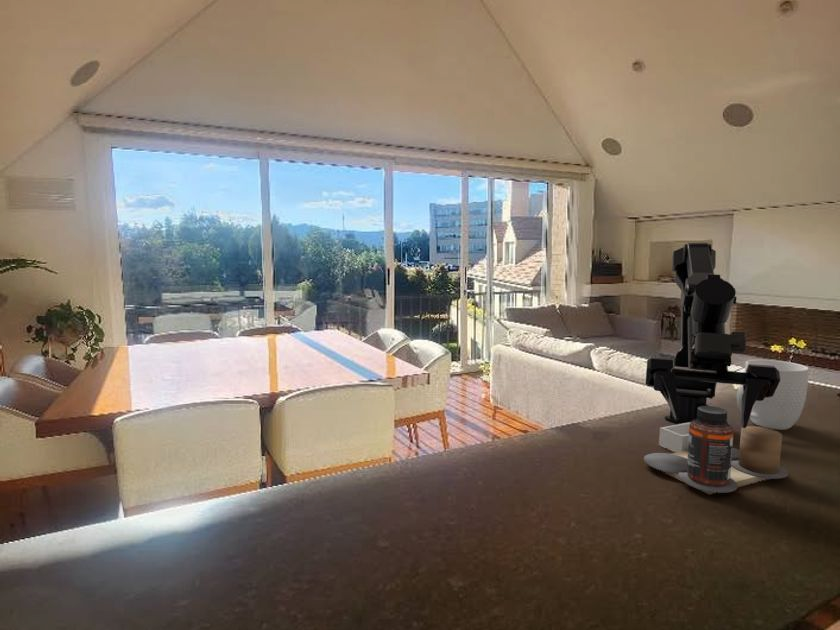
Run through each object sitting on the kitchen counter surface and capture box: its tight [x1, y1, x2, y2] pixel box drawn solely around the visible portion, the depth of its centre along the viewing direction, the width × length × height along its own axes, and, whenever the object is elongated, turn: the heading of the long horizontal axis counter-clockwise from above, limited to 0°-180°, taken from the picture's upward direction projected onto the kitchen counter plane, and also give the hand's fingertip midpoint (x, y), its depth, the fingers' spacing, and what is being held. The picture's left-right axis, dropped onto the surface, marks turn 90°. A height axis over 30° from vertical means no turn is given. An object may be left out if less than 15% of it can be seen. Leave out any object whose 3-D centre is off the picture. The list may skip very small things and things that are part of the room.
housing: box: [658, 422, 690, 453], centre depth 95 cm, size 5×8×4 cm, turn 113°
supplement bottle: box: [687, 405, 734, 486], centre depth 78 cm, size 6×6×11 cm
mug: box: [736, 359, 810, 431], centre depth 106 cm, size 15×11×13 cm
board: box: [643, 425, 789, 495], centre depth 84 cm, size 15×20×7 cm
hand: (710, 422), depth 78 cm, fingers open, 9 cm apart
